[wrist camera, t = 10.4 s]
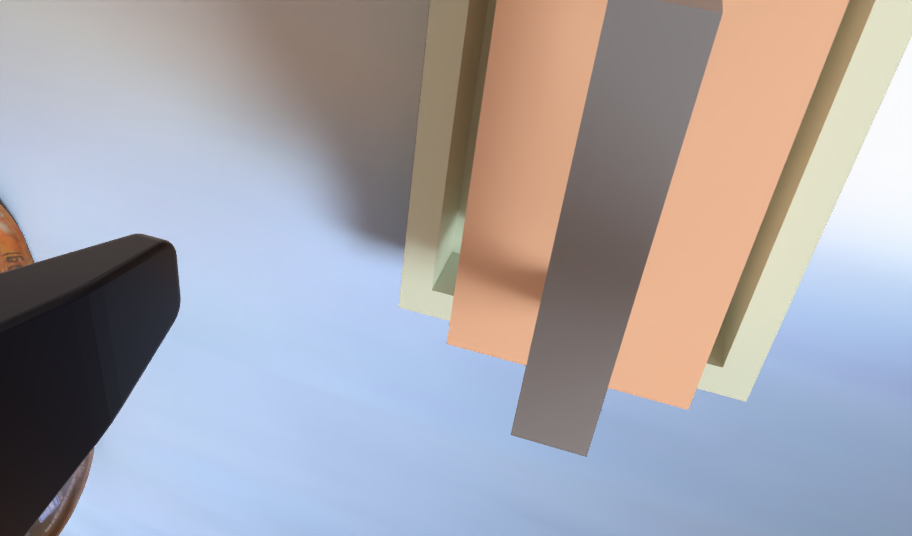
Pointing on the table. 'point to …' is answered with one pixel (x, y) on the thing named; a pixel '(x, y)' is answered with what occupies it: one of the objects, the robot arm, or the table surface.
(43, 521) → the tin
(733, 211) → the tall peach cuboid
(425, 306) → the tray
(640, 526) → the table surface
